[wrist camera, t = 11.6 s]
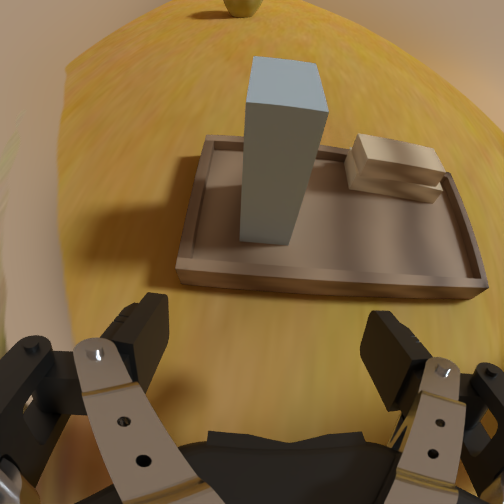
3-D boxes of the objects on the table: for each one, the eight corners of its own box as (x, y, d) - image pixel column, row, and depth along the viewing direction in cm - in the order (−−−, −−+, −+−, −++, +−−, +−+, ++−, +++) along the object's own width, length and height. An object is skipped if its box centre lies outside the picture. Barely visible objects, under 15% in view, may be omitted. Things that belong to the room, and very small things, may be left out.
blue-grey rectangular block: (288, 188, 23) (315, 63, 13) (288, 245, 20) (328, 112, 11) (245, 184, 23) (253, 56, 13) (239, 241, 20) (246, 102, 11)
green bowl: (270, 18, 52) (273, -7, 46) (231, 21, 49) (232, -6, 43) (250, 10, 56) (252, -13, 50) (214, 13, 53) (214, -11, 47)
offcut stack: (423, 178, 25) (441, 151, 22) (433, 206, 23) (454, 179, 20) (343, 162, 25) (356, 129, 21) (349, 191, 23) (365, 157, 20)
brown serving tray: (439, 187, 27) (450, 172, 25) (472, 298, 21) (488, 287, 18) (207, 154, 26) (206, 134, 24) (181, 283, 20) (175, 268, 18)
